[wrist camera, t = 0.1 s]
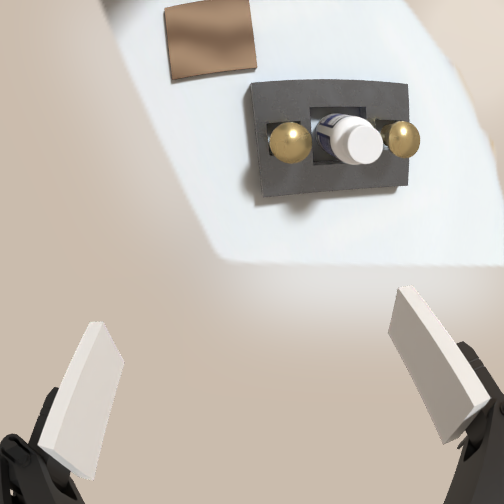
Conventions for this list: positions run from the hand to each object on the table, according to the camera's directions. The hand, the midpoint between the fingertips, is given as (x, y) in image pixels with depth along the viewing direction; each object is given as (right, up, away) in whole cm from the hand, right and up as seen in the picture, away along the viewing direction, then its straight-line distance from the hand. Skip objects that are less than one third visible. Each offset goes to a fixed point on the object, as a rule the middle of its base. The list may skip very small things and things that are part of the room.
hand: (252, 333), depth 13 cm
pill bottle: (+10, +18, +23) cm, 31 cm away
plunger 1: (+4, +16, +20) cm, 26 cm away
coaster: (-5, +29, +16) cm, 33 cm away
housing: (+10, +18, +22) cm, 31 cm away
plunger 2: (+17, +18, +20) cm, 32 cm away
